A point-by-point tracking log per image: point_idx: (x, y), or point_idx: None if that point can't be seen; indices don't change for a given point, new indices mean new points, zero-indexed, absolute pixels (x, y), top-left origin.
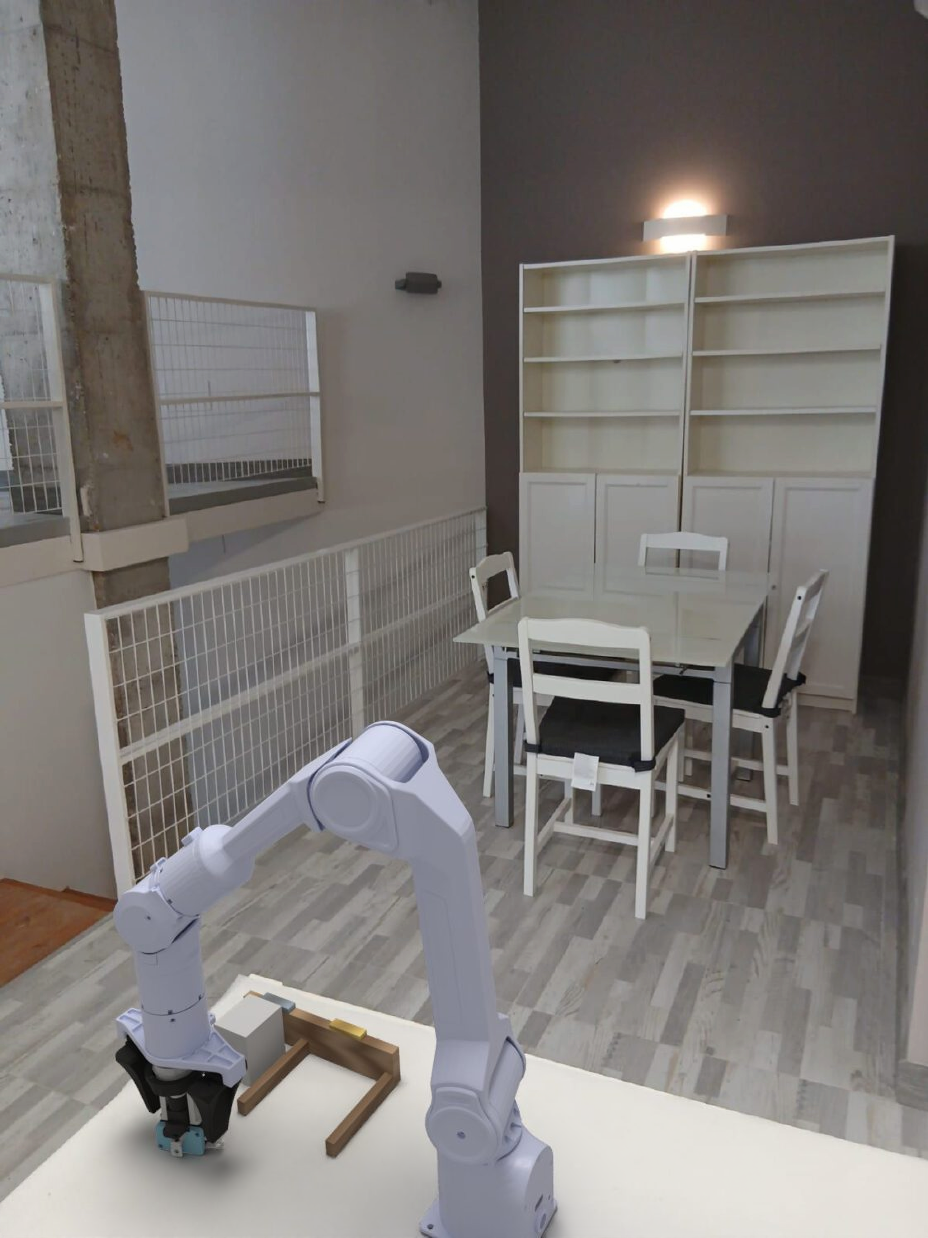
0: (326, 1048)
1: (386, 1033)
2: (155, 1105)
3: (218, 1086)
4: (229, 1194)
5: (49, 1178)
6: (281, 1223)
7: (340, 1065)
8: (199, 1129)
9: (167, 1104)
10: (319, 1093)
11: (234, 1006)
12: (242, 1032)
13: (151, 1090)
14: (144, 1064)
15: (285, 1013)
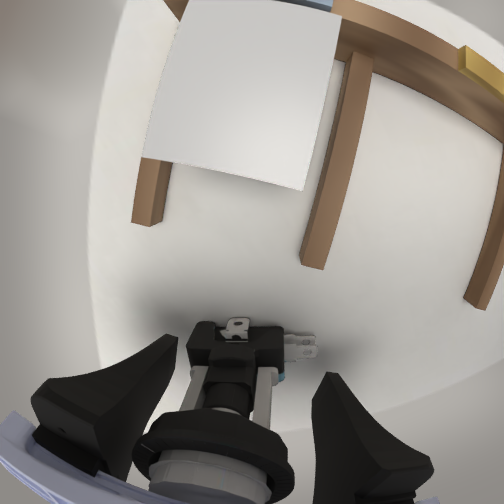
0: (421, 79)
1: (457, 27)
2: (170, 373)
3: None
4: (352, 387)
5: None
6: (421, 393)
7: (435, 99)
8: (279, 377)
9: (201, 395)
10: (429, 174)
11: (169, 54)
12: (274, 166)
13: (155, 399)
14: (128, 456)
15: None
